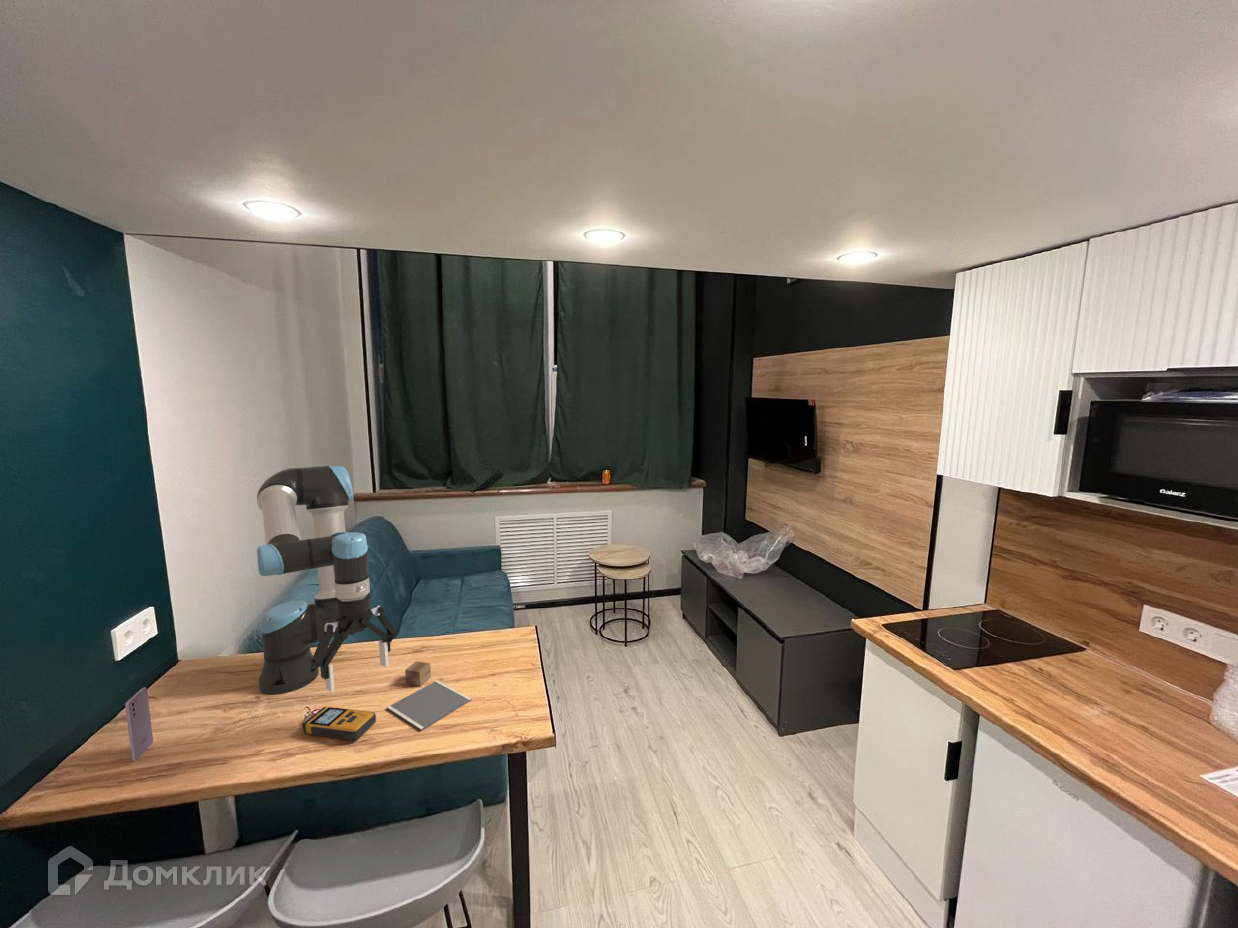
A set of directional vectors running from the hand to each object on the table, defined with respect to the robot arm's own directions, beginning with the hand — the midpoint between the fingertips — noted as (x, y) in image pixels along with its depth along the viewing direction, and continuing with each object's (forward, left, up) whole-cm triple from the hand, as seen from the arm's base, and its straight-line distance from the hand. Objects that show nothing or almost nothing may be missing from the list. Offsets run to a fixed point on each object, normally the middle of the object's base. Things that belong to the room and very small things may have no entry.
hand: (358, 676), depth 123 cm
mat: (+4, +17, -16) cm, 23 cm away
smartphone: (-36, -34, -16) cm, 52 cm away
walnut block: (-9, +22, -16) cm, 29 cm away
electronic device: (0, 0, -17) cm, 17 cm away
